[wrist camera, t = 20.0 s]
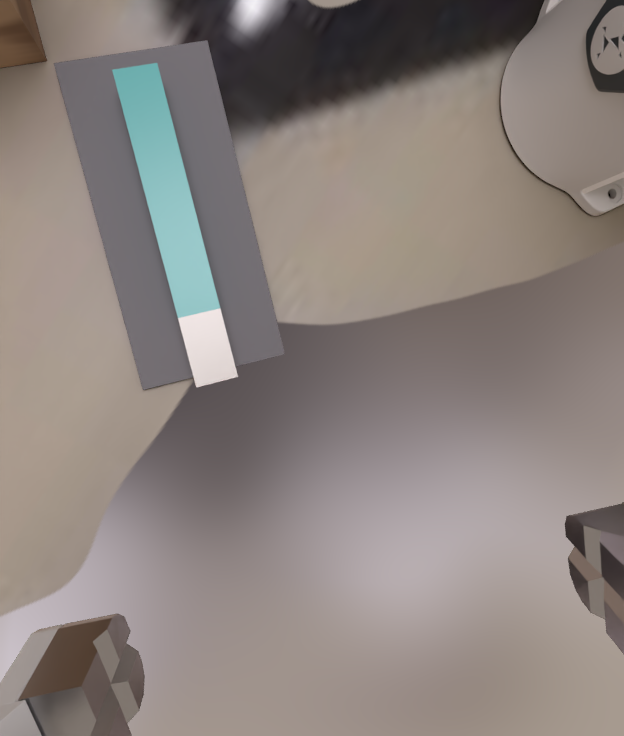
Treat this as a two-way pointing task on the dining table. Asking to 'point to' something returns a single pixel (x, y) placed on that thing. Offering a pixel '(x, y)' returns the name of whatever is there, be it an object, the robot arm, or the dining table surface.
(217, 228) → the mat
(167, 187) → the block
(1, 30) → the tall stand
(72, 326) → the dining table surface
